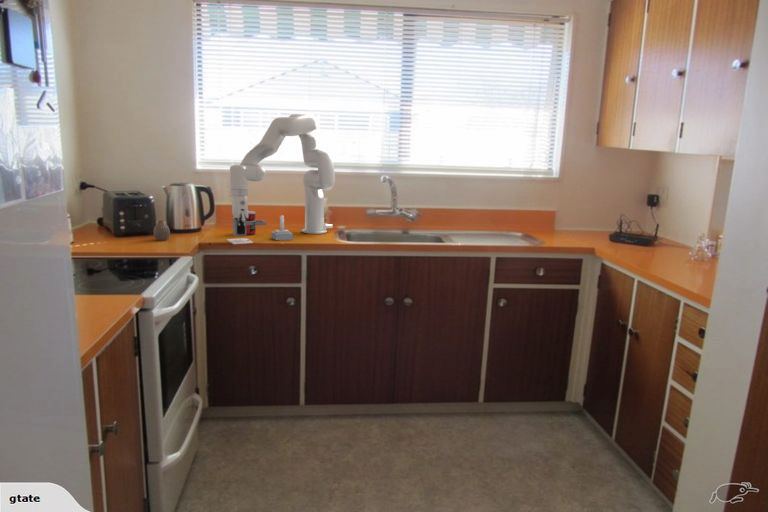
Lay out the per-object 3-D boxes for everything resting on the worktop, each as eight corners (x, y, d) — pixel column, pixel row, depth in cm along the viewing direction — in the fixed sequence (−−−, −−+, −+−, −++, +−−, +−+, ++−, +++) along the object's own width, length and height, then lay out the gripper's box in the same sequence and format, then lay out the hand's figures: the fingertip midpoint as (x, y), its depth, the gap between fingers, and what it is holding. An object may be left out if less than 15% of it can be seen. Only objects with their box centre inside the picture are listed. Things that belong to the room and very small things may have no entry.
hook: (235, 235, 248) (235, 220, 247) (232, 234, 252) (232, 218, 251) (266, 234, 255) (266, 219, 254) (262, 232, 259) (262, 217, 258)
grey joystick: (287, 237, 267) (287, 214, 265) (292, 239, 261) (292, 216, 259) (271, 238, 263) (271, 215, 261) (276, 240, 257) (276, 217, 255)
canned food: (253, 235, 269) (253, 213, 267) (237, 234, 269) (236, 212, 267) (257, 232, 276) (257, 211, 274) (241, 232, 276) (241, 210, 274)
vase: (150, 240, 249) (149, 220, 247) (162, 238, 255) (161, 219, 253) (161, 241, 246) (160, 222, 244) (173, 239, 252) (172, 220, 250)
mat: (246, 238, 259) (246, 238, 259) (253, 243, 250) (253, 242, 250) (227, 240, 255) (227, 239, 254) (233, 244, 245) (233, 243, 245)
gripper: (252, 194, 242) (253, 235, 246) (242, 191, 257) (242, 230, 260) (235, 195, 239) (236, 236, 242) (225, 191, 253) (226, 231, 257)
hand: (239, 232), depth 251 cm, fingers closed on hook, 4 cm apart
